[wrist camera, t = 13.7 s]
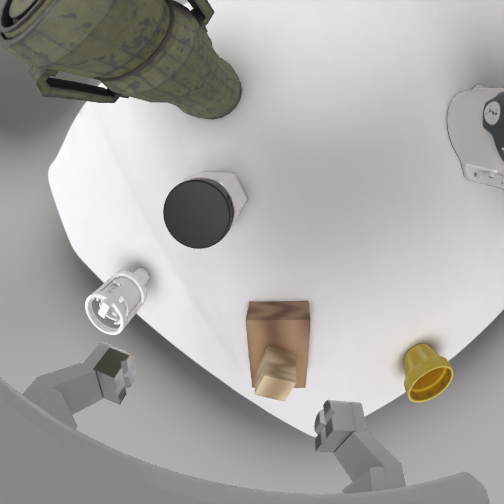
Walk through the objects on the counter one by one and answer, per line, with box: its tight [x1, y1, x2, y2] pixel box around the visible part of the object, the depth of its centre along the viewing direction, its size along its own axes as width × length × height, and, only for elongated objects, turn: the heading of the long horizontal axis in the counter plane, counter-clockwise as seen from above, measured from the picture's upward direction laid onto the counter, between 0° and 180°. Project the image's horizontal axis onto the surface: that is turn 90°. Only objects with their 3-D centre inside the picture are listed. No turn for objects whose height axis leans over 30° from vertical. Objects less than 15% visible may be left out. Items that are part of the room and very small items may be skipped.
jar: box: [163, 172, 248, 249], centre depth 36 cm, size 9×8×12 cm
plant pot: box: [404, 344, 453, 402], centre depth 44 cm, size 10×10×10 cm
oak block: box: [255, 345, 296, 401], centre depth 42 cm, size 5×5×7 cm
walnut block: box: [246, 301, 310, 388], centre depth 48 cm, size 10×16×6 cm, turn 4°
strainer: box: [85, 268, 150, 335], centre depth 42 cm, size 7×7×15 cm
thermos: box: [0, 0, 242, 119], centre depth 20 cm, size 9×12×35 cm
